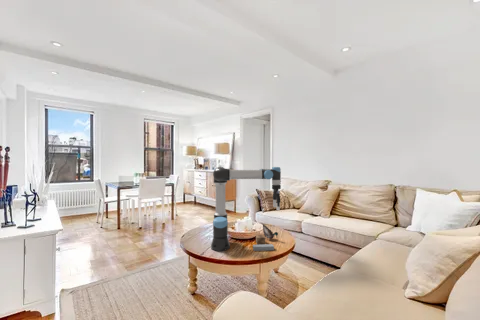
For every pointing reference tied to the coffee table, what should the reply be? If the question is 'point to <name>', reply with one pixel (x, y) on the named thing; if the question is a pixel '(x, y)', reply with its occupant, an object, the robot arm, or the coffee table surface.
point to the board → (263, 247)
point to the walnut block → (260, 239)
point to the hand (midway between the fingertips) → (276, 208)
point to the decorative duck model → (268, 232)
